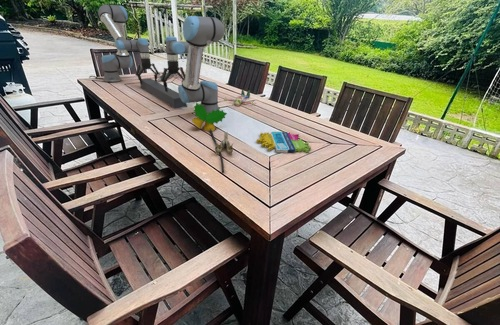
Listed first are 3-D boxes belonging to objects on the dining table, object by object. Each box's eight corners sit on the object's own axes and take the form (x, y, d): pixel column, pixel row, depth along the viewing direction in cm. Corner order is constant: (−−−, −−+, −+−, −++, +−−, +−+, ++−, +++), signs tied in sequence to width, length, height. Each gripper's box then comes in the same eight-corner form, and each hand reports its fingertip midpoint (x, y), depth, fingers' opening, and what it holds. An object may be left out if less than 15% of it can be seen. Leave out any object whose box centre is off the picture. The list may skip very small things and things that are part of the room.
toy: (261, 91, 228) (254, 99, 202) (261, 99, 231) (253, 108, 205) (231, 87, 233) (220, 95, 207) (230, 95, 236) (219, 104, 210)
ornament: (218, 133, 171) (224, 110, 169) (221, 134, 163) (227, 111, 161) (186, 125, 162) (192, 101, 160) (189, 126, 155) (195, 101, 153)
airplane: (149, 74, 288) (148, 65, 283) (178, 73, 302) (177, 64, 297) (156, 83, 260) (154, 73, 255) (187, 81, 273) (186, 71, 268)
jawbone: (234, 135, 144) (233, 125, 135) (233, 160, 138) (232, 151, 129) (217, 135, 144) (216, 125, 135) (216, 160, 138) (214, 150, 129)
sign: (313, 150, 142) (258, 149, 139) (312, 153, 143) (258, 152, 140) (301, 132, 164) (254, 130, 161) (301, 134, 165) (254, 133, 162)
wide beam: (186, 106, 200) (186, 96, 197) (174, 108, 195) (173, 98, 191) (151, 86, 246) (150, 78, 243) (140, 87, 241) (139, 79, 237)
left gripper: (157, 56, 235) (160, 81, 245) (129, 58, 221) (133, 83, 231) (161, 58, 230) (163, 82, 240) (132, 59, 216) (136, 85, 226)
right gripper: (186, 59, 196) (187, 87, 207) (153, 60, 182) (157, 91, 192) (191, 60, 191) (192, 89, 202) (157, 62, 177) (161, 93, 187)
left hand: (148, 83), depth 236 cm, fingers open, 13 cm apart
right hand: (175, 90), depth 197 cm, fingers open, 13 cm apart
